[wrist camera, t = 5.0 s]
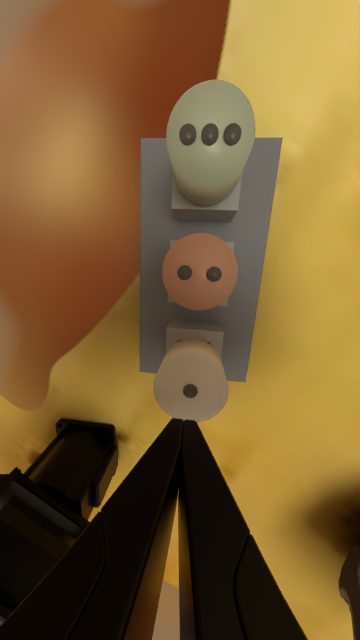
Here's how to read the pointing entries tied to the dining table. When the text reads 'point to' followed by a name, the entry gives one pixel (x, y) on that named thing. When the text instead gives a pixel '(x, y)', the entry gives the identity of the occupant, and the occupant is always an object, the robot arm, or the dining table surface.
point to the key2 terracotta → (200, 271)
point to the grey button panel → (217, 219)
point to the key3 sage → (210, 140)
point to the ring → (352, 587)
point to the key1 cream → (191, 381)
